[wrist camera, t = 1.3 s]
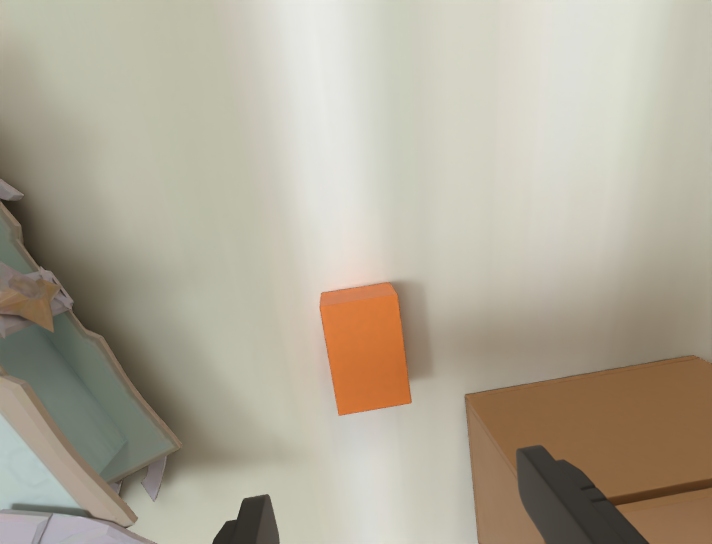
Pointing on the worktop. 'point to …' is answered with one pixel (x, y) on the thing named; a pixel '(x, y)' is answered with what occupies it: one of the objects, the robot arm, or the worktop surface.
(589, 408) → the open shipping carton
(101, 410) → the ornate book
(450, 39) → the worktop surface
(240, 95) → the worktop surface
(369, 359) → the block
